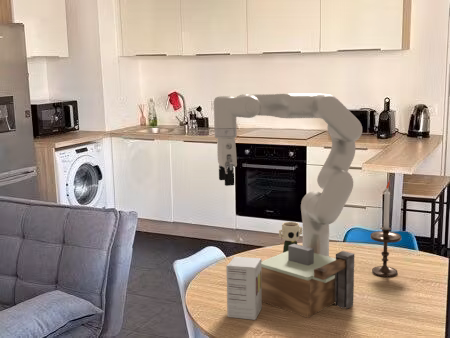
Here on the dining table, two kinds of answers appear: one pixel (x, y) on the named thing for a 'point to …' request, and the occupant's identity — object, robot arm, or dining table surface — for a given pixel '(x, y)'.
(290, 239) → the character mug
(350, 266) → the brown wooden box
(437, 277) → the dining table surface
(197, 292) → the dining table surface
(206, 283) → the dining table surface
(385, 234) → the candlestick
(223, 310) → the dining table surface
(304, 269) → the lid
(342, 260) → the brown wooden bar
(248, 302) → the supplement box
